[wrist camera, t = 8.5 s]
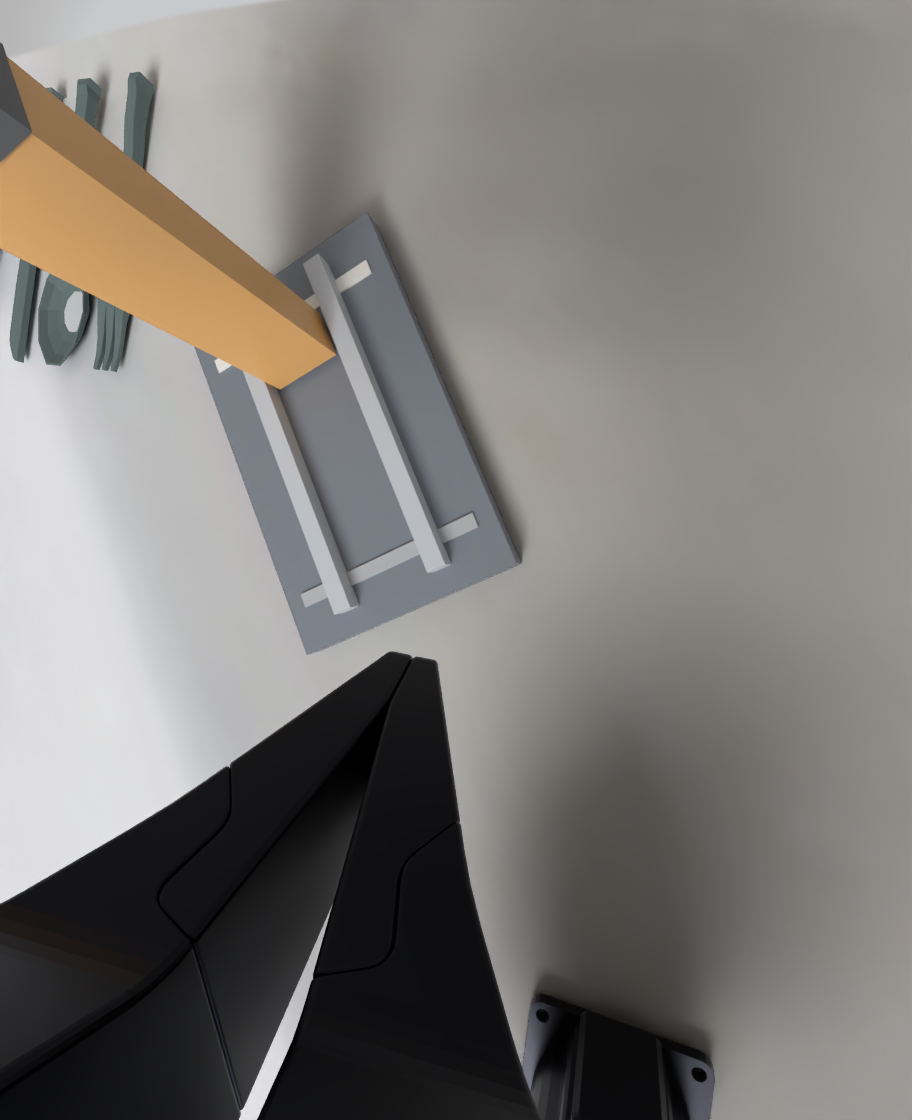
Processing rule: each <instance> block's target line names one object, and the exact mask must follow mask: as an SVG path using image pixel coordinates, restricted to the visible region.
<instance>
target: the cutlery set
mask: <svg viewBox="0 0 912 1120" xmlns="http://www.w3.org/2000/svg"><path fill="white" fill-rule="evenodd" d="M46 89H47V90H48V91H49V92H51V93H52V94H53V95H54V96H56V97H57V98H58V99H64V97H63V96H61V95H60V94H59V93H58V92H57V91H55V90H54V89H53V88H46ZM100 94H101V88H100V87H99V86H98V85H97V84H96V83H95V82H94V81H93V80H92V79H91V78H87V79H79V80H78V83H77V97H76V110H75V113H76V114H77V115H79V116H80V117H81V118H82V119H84V120H85V121H86V122H87V123H88V124H90V125H91V126H92V127H94V122H95V117H96V113H97V108H98V103H99V99H100ZM152 96H153V85H152V84H151V83H150V82H149V81H148V80H147V79H146V78H145V77H144V76H143V74H142V73H141V72H135V73H130V75H129V78H128V95H127V103H126V112H125V125H124V153H125V154H126V155H127V156H129V157H130V158H131V159H132V160H133V161H135V162H136V163H137V164H138V165H139V166H141V167H142V168H143V161H144V149H145V134H146V125H147V119H148V113H149V106H150V102H151V99H152ZM35 273H36V266H34V265H32V264H30V263H28V262H26V261H24V260H22V259H20V264H19V270H18V276H17V283H16V290H15V298H14V305H13V313H12V322H11V330H10V347H11V351H12V356H13V358H14V360H16V361H19V362H23V363H24V355H25V348H26V340H27V333H28V326H29V318H30V311H31V303H32V296H33V288H34V281H35ZM74 291H81V292H82V293H83V313H82V316H81V320H80V324H79V327H78V330H77V332H69V331H68V329H67V327H66V325H65V321H64V310H65V307H66V303H67V300H68V298H69V297H70V296H71V295H72V294H73V292H74ZM88 315H89V293H88V292H86V291H84V290H82V289H80V288H78V287H76V286H74V285H72V284H70V283H68V282H66V281H64V280H62V279H60V278H58V277H56V276H54V275H52V274H50V275H49V276H48V278H47V280H46V284H45V287H44V291H43V295H42V298H41V302H40V306H39V314H38V341H39V344H40V347H41V350H42V353H43V356H44V359H45V362H46V364H48V365H58V366H60V365H61V364H62V363H63V362H64V361H65V360H66V359H67V357H68V356H69V355H70V353H71V352H72V351H73V349H74V348H75V346H76V345H77V344H78V342H79V341H80V340H81V337H82V334H83V331H84V328H85V325H86V322H87V319H88ZM129 315H130V314H129V313H127V312H125V311H123V310H121V309H119V308H118V307H116V306H114V305H112V304H110V303H108V302H106V301H104V300H102V299H100V298H98V339H97V352H96V358H95V363H94V369H96V370H100V367H101V364H102V361H103V358H104V361H103V366H102V370H105V371H108V369H109V366H110V364H111V361H112V365H111V371H115V372H117V369H118V366H119V363H120V361H121V358H122V353H123V346H124V340H125V333H126V327H127V322H128V318H129ZM113 354H114V355H113ZM104 355H105V356H104ZM112 358H113V360H112Z"/></svg>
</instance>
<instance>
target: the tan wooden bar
mask: <svg viewBox="0 0 912 1120" xmlns="http://www.w3.org/2000/svg"><path fill="white" fill-rule="evenodd" d="M0 248H1V249H2V250H4V251H6V252H8V253H10V254H12V255H14V256H16V257H18V258H20V259H22V260H24V261H26V262H28V263H30V264H32V265H34V266H36V267H38V268H40V269H42V270H44V271H46V272H48V273H50V274H52V275H54V276H56V277H58V278H60V279H62V280H64V281H66V282H68V283H70V284H72V285H74V286H76V287H78V288H80V289H82V290H84V291H86V292H88V293H90V294H92V295H94V296H96V297H98V298H100V299H102V300H104V301H106V302H108V303H110V304H112V305H114V306H116V307H118V308H119V309H121V310H123V311H125V312H127V313H129V314H131V315H133V316H135V317H137V318H139V319H141V320H143V321H145V322H147V323H149V324H151V325H153V326H155V327H157V328H159V329H161V330H163V331H165V332H167V333H169V334H171V335H173V336H175V337H177V338H179V339H181V340H183V341H185V342H187V343H189V344H191V345H193V346H195V347H197V348H199V349H201V350H203V351H205V352H207V353H209V354H211V355H213V356H215V357H217V358H219V359H221V360H223V361H225V362H227V363H229V364H231V365H233V366H234V367H236V368H238V369H240V370H242V371H244V372H246V373H248V374H250V375H252V376H254V377H256V378H258V379H260V380H262V381H264V382H266V383H268V384H270V385H272V386H274V387H276V388H278V389H282V388H284V387H285V386H287V385H288V384H290V383H292V382H293V381H295V380H296V379H298V378H300V377H301V376H303V375H305V374H306V373H308V372H309V371H311V370H313V369H314V368H316V367H317V366H319V365H321V364H322V363H324V362H325V361H327V360H329V359H330V358H332V357H334V356H335V355H336V353H335V350H334V348H333V345H332V343H331V340H330V338H329V335H328V333H327V330H326V328H325V325H324V323H323V320H322V318H321V315H320V313H318V312H317V311H316V310H315V309H314V308H312V307H311V306H310V305H309V304H307V303H306V302H305V301H304V300H303V299H301V298H300V297H299V296H298V295H296V294H295V293H294V292H293V291H292V290H290V289H289V288H288V287H287V286H286V285H284V284H283V283H282V282H281V281H279V280H278V279H277V278H276V277H275V276H273V275H272V274H271V273H270V272H268V271H267V270H266V269H265V268H264V267H262V266H261V265H260V264H259V263H258V262H256V261H255V260H254V259H253V258H251V257H250V256H249V255H248V254H247V253H245V252H244V251H243V250H242V249H240V248H239V247H238V246H237V245H236V244H234V243H233V242H232V241H231V240H230V239H228V238H227V237H226V236H225V235H223V234H222V233H221V232H220V231H219V230H217V229H216V228H215V227H214V226H213V225H211V224H210V223H209V222H208V221H206V220H205V219H204V218H203V217H202V216H200V215H199V214H198V213H197V212H195V211H194V210H193V209H192V208H191V207H189V206H188V205H187V204H186V203H185V202H183V201H182V200H181V199H180V198H178V197H177V196H176V195H175V194H174V193H172V192H171V191H170V190H169V189H167V188H166V187H165V186H164V185H163V184H161V183H160V182H159V181H158V180H157V179H155V178H154V177H153V176H152V175H150V174H149V173H148V172H147V171H146V170H144V169H143V168H142V167H141V166H139V165H138V164H137V163H136V162H135V161H133V160H132V159H131V158H130V157H129V156H127V155H126V154H125V153H124V152H122V151H121V150H120V149H119V148H118V147H116V146H115V145H114V144H113V143H112V142H110V141H109V140H108V139H107V138H105V137H104V136H103V135H102V134H101V133H99V132H98V131H97V130H96V129H94V128H93V127H92V126H91V125H90V124H88V123H87V122H86V121H85V120H84V119H82V118H81V117H80V116H79V115H77V114H76V113H75V112H74V111H73V110H71V109H70V108H69V107H68V106H66V105H65V104H64V103H63V102H62V101H60V100H59V99H58V98H57V97H56V96H54V95H53V94H52V93H51V92H49V91H48V90H47V89H46V88H45V87H43V86H42V85H41V84H40V83H38V82H37V81H36V80H35V79H34V78H32V77H31V76H30V75H29V74H28V73H26V72H25V71H24V70H23V69H21V68H20V67H19V66H18V65H17V64H15V63H14V62H13V61H12V60H10V59H9V58H8V57H7V56H6V53H5V50H4V47H3V45H2V44H1V43H0Z"/></svg>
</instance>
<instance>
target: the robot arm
mask: <svg viewBox="0 0 912 1120" xmlns="http://www.w3.org/2000/svg"><path fill="white" fill-rule="evenodd" d="M459 823H460V818H459V811H458V804H457V797H456V790H455V783H454V776H453V769H452V762H451V755H450V748H449V741H448V734H447V727H446V720H445V713H444V706H443V699H442V692H441V685H440V678H439V671H438V664H437V662H436V661H435V660H432V659H427V658H422V657H415V658H412V656H411V655H407V654H403V653H398V652H388V653H386V654H385V655H384V656H382V657H381V658H379V659H378V660H377V661H375V662H374V663H372V664H371V665H369V666H368V667H367V668H365V669H364V670H362V671H361V672H359V673H358V674H357V675H355V676H354V677H352V678H351V679H350V680H348V681H347V682H345V683H344V684H342V685H341V686H340V687H338V688H337V689H335V690H334V691H332V692H331V693H330V694H328V695H327V696H325V697H324V698H323V699H321V700H320V701H318V702H317V703H315V704H314V705H313V706H311V707H310V708H308V709H307V710H305V711H304V712H303V713H301V714H300V715H298V716H297V717H296V718H294V719H293V720H291V721H290V722H288V723H287V724H286V725H284V726H283V727H281V728H280V729H278V730H277V731H276V732H274V733H273V734H271V735H270V736H269V737H267V738H266V739H264V740H263V741H261V742H260V743H259V744H257V745H256V746H254V747H253V748H251V749H250V750H249V751H247V752H246V753H244V754H243V755H242V756H240V757H239V758H237V759H236V760H234V761H233V762H232V763H231V764H230V768H229V767H227V766H226V767H224V768H223V769H221V770H220V771H218V772H217V773H216V774H214V775H213V776H211V777H210V778H209V779H207V780H206V781H204V782H203V783H201V784H200V785H198V786H197V787H195V788H194V789H192V790H191V791H189V792H188V793H186V794H185V795H183V796H182V797H180V798H179V799H177V800H176V801H174V802H173V803H171V804H170V805H168V806H167V807H165V808H163V809H162V810H160V811H158V812H157V813H155V814H154V815H152V816H150V817H149V818H147V819H145V820H144V821H142V822H140V823H139V824H137V825H136V826H134V827H132V828H131V829H129V830H127V831H126V832H124V833H122V834H121V835H119V836H117V837H115V838H114V839H112V840H110V841H109V842H107V843H105V844H103V845H102V846H100V847H98V848H97V849H95V850H93V851H91V852H90V853H88V854H86V855H85V856H83V857H81V858H79V859H78V860H76V861H74V862H73V863H71V864H69V865H67V866H66V867H64V868H62V869H61V870H59V871H57V872H56V873H54V874H52V875H50V876H49V877H47V878H45V879H44V880H42V881H40V882H38V883H37V884H35V885H33V886H32V887H30V888H28V889H26V890H25V891H23V892H21V893H19V894H17V895H16V896H14V897H12V898H10V899H8V900H6V901H5V902H3V903H1V904H0V1120H239V1118H240V1115H241V1112H240V1110H242V1109H243V1108H244V1106H245V1103H246V1101H247V1099H248V1097H249V1094H250V1092H251V1090H252V1087H253V1085H254V1083H255V1080H256V1078H257V1076H258V1074H259V1071H260V1069H261V1067H262V1064H263V1062H264V1060H265V1058H266V1055H267V1053H268V1051H269V1048H270V1046H271V1044H272V1041H273V1039H274V1037H275V1035H276V1032H277V1030H278V1028H279V1025H280V1023H281V1021H282V1019H283V1016H284V1014H285V1012H286V1009H287V1007H288V1005H289V1002H290V1000H291V998H292V996H293V993H294V991H295V989H296V986H297V984H298V982H299V980H300V977H301V975H302V973H303V970H304V968H305V966H306V963H307V961H308V959H309V957H310V954H311V952H312V950H313V947H314V945H315V943H316V941H317V938H318V936H319V934H320V931H321V929H322V927H323V925H324V922H325V920H326V918H327V915H328V913H329V911H330V908H331V906H332V909H331V912H330V916H329V919H328V923H327V927H326V930H325V934H324V937H323V941H322V944H321V948H320V952H319V955H318V959H317V962H316V966H315V969H314V973H313V980H312V982H311V984H310V988H309V991H308V995H307V998H306V1001H305V1005H304V1008H303V1011H302V1014H301V1017H300V1020H299V1023H298V1026H297V1029H296V1032H295V1034H294V1037H293V1040H292V1043H291V1045H290V1047H289V1050H288V1052H287V1054H286V1056H285V1059H284V1061H283V1063H282V1065H281V1068H280V1070H279V1072H278V1074H277V1077H276V1079H275V1081H274V1083H273V1085H272V1088H271V1090H270V1092H269V1094H268V1097H267V1099H266V1101H265V1103H264V1106H263V1108H262V1110H261V1112H260V1115H259V1117H258V1119H257V1120H710V1113H711V1105H712V1098H713V1090H714V1083H715V1078H714V1071H713V1065H712V1063H711V1060H710V1059H709V1058H708V1056H707V1055H706V1054H704V1053H702V1052H701V1051H699V1050H696V1049H693V1048H690V1047H688V1046H685V1045H682V1044H679V1043H677V1042H674V1041H671V1040H668V1039H666V1038H663V1037H660V1036H657V1035H655V1034H652V1033H649V1032H646V1031H644V1030H641V1029H638V1028H635V1027H633V1026H630V1025H627V1024H624V1023H622V1022H619V1021H616V1020H613V1019H611V1018H608V1017H605V1016H602V1015H600V1014H597V1013H594V1012H591V1011H589V1010H586V1009H583V1008H580V1007H578V1006H575V1005H572V1004H569V1003H567V1002H564V1001H561V1000H558V999H556V998H553V997H550V996H547V995H543V994H539V995H536V996H535V997H534V998H533V999H532V1002H531V1007H530V1012H529V1020H528V1029H527V1037H526V1045H525V1054H524V1062H523V1069H522V1066H521V1063H520V1060H519V1057H518V1054H517V1050H516V1047H515V1044H514V1041H513V1037H512V1034H511V1031H510V1027H509V1024H508V1020H507V1017H506V1013H505V1010H504V1006H503V1003H502V999H501V995H500V992H499V988H498V985H497V981H496V978H495V974H494V971H493V967H492V964H491V960H490V957H489V953H488V949H487V946H486V942H485V939H484V935H483V932H482V928H481V925H480V921H479V916H478V912H477V908H476V904H475V900H474V896H473V892H472V888H471V884H470V878H469V873H468V867H467V861H466V856H465V850H464V844H463V837H462V830H461V825H460V824H459ZM332 904H333V905H332ZM539 1009H544V1010H545V1011H547V1013H548V1014H543V1013H541V1012H540V1011H539ZM695 1067H700V1068H702V1069H703V1070H704V1071H701V1072H699V1071H695V1070H694V1069H693V1068H695Z"/></svg>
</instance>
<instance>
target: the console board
mask: <svg viewBox="0 0 912 1120" xmlns="http://www.w3.org/2000/svg"><path fill="white" fill-rule="evenodd" d="M275 277H276V278H277V279H278V280H279V281H281V282H282V283H283V284H284V285H286V286H287V287H288V288H289V289H290V290H292V291H293V292H294V293H295V294H296V295H298V296H299V297H300V298H301V299H303V300H304V301H305V302H306V303H307V304H309V305H310V306H311V307H312V308H314V309H315V310H316V311H317V312H318V313H320V315H321V318H322V320H323V323H324V325H325V328H326V330H327V333H328V335H329V338H330V340H331V343H332V345H333V348H334V350H335V353H336V355H335V356H334V357H332V358H330V359H329V360H327V361H325V362H324V363H322V364H321V365H319V366H317V367H316V368H314V369H313V370H311V371H309V372H308V373H306V374H305V375H303V376H301V377H300V378H298V379H296V380H295V381H293V382H292V383H290V384H288V385H287V386H285V387H284V388H282V389H278V388H276V387H274V386H272V385H270V384H268V383H266V382H264V381H262V380H260V379H258V378H256V377H254V376H252V375H250V374H248V373H246V372H244V371H242V370H240V369H238V368H236V367H234V366H233V365H231V364H229V363H227V362H225V361H223V360H221V359H219V358H217V357H215V356H213V355H211V354H209V353H207V352H205V351H203V350H201V349H199V348H197V347H195V346H194V347H195V349H196V352H197V355H198V358H199V360H200V363H201V366H202V369H203V371H204V374H205V377H206V380H207V382H208V385H209V388H210V391H211V393H212V396H213V399H214V401H215V404H216V407H217V410H218V412H219V415H220V418H221V421H222V423H223V426H224V429H225V432H226V434H227V437H228V440H229V443H230V445H231V448H232V451H233V454H234V456H235V459H236V462H237V465H238V467H239V470H240V473H241V476H242V478H243V481H244V484H245V486H246V489H247V492H248V495H249V497H250V500H251V503H252V506H253V508H254V511H255V514H256V517H257V519H258V522H259V525H260V528H261V530H262V533H263V536H264V539H265V541H266V544H267V547H268V550H269V552H270V555H271V558H272V561H273V563H274V566H275V569H276V571H277V574H278V577H279V580H280V582H281V585H282V588H283V591H284V593H285V596H286V599H287V602H288V604H289V607H290V610H291V613H292V615H293V618H294V621H295V624H296V626H297V629H298V632H299V635H300V637H301V640H302V643H303V645H304V648H305V651H306V654H307V655H308V654H312V653H315V652H318V651H321V650H323V649H326V648H328V647H330V646H333V645H335V644H337V643H339V642H342V641H344V640H346V639H349V638H351V637H353V636H356V635H358V634H360V633H363V632H365V631H367V630H369V629H372V628H374V627H376V626H379V625H381V624H383V623H386V622H388V621H390V620H392V619H395V618H397V617H399V616H402V615H404V614H406V613H409V612H411V611H413V610H416V609H418V608H420V607H422V606H425V605H427V604H429V603H432V602H434V601H436V600H439V599H441V598H443V597H445V596H448V595H450V594H452V593H455V592H457V591H459V590H462V589H464V588H466V587H469V586H471V585H473V584H475V583H478V582H480V581H482V580H485V579H487V578H489V577H492V576H494V575H496V574H498V573H501V572H503V571H505V570H508V569H510V568H512V567H515V566H517V565H519V564H521V561H520V559H519V557H518V554H517V552H516V550H515V547H514V545H513V543H512V540H511V538H510V536H509V533H508V531H507V529H506V526H505V524H504V522H503V519H502V517H501V515H500V512H499V510H498V508H497V505H496V503H495V501H494V498H493V496H492V494H491V491H490V489H489V487H488V484H487V482H486V480H485V477H484V475H483V473H482V470H481V468H480V466H479V463H478V461H477V459H476V456H475V454H474V452H473V449H472V447H471V445H470V442H469V440H468V438H467V435H466V433H465V430H464V428H463V426H462V423H461V421H460V419H459V416H458V414H457V412H456V409H455V407H454V405H453V402H452V400H451V398H450V395H449V393H448V391H447V388H446V386H445V384H444V381H443V379H442V377H441V374H440V372H439V370H438V367H437V365H436V363H435V360H434V358H433V356H432V353H431V351H430V349H429V346H428V344H427V342H426V339H425V337H424V335H423V332H422V330H421V328H420V325H419V323H418V321H417V318H416V316H415V314H414V311H413V309H412V306H411V304H410V302H409V299H408V297H407V295H406V292H405V290H404V288H403V285H402V283H401V281H400V278H399V276H398V274H397V271H396V269H395V267H394V264H393V262H392V260H391V257H390V255H389V253H388V250H387V248H386V246H385V243H384V241H383V239H382V236H381V234H380V232H379V229H378V227H377V225H376V224H375V223H374V221H373V220H372V218H371V217H370V216H369V214H368V213H367V212H366V213H364V214H363V215H361V216H360V217H358V218H357V219H355V220H354V221H353V222H351V223H350V224H348V225H347V226H345V227H344V228H343V229H341V230H340V231H338V232H337V233H335V234H334V235H333V236H331V237H330V238H328V239H327V240H325V241H324V242H323V243H321V244H320V245H318V246H317V247H315V248H314V249H313V250H311V251H310V252H308V253H307V254H305V255H304V256H302V257H301V258H300V259H298V260H297V261H295V262H294V263H292V264H291V265H290V266H288V267H287V268H285V269H284V270H282V271H281V272H280V273H278V274H277V275H275Z"/></svg>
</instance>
